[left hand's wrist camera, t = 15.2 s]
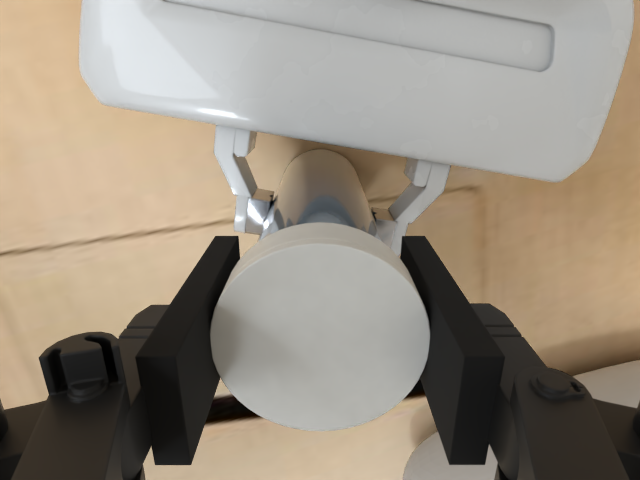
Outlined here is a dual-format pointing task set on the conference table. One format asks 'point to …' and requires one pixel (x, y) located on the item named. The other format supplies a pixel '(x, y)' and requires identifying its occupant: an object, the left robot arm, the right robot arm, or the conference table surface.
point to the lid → (320, 328)
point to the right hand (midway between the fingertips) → (317, 240)
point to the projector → (438, 476)
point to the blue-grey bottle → (320, 195)
